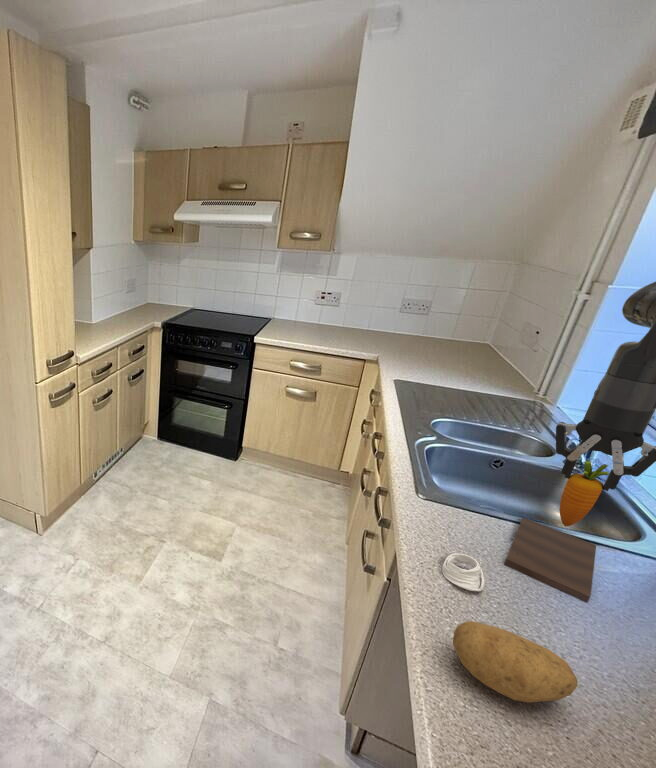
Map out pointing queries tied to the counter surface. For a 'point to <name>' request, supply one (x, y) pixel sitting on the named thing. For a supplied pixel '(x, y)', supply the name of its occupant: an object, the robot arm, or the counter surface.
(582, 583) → the cutting board
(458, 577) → the white string coil
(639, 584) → the counter surface
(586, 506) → the carrot
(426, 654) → the counter surface
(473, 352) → the counter surface
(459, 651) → the potato
